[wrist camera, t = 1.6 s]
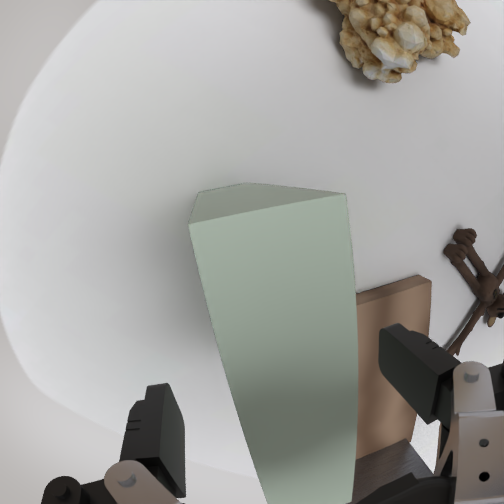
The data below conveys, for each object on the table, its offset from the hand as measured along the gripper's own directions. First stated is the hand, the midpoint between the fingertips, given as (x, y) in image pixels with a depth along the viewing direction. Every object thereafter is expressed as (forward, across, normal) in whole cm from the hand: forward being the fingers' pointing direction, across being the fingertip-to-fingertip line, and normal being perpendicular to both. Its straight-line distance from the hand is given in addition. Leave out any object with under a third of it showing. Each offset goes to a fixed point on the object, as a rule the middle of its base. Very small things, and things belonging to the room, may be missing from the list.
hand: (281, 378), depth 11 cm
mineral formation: (+14, -15, -21) cm, 29 cm away
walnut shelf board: (+13, -10, +15) cm, 23 cm away
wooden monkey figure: (+14, -25, +7) cm, 30 cm away
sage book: (+13, 0, 0) cm, 13 cm away
